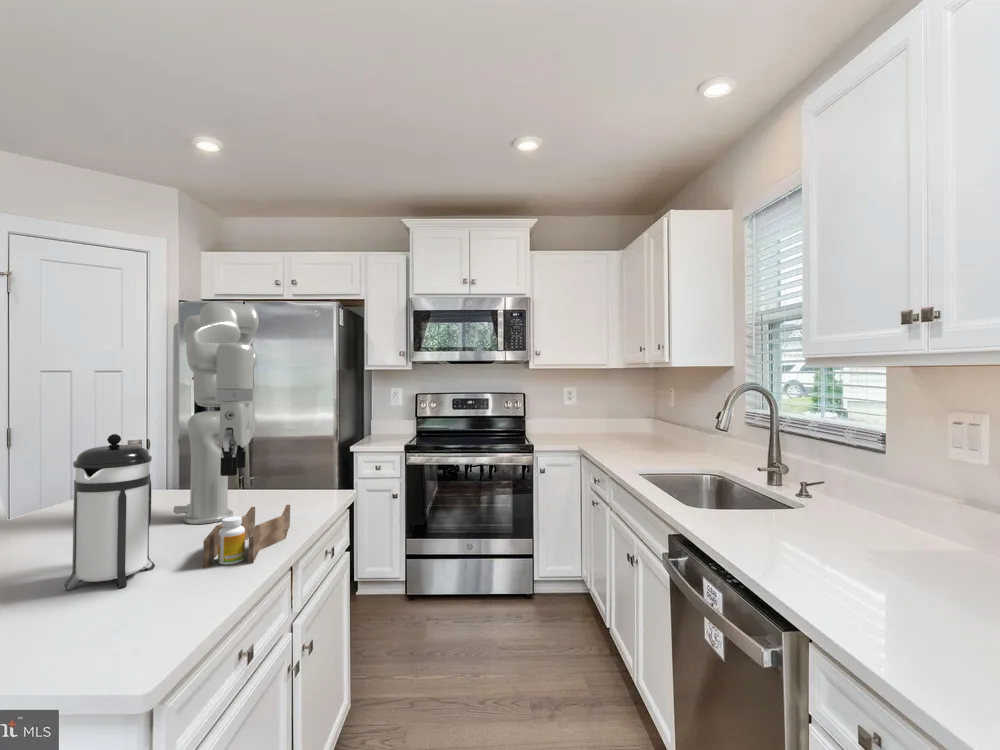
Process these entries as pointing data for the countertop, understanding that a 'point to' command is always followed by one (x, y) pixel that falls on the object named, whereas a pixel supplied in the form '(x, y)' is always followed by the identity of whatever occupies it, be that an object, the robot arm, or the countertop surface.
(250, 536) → the channel
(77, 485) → the coffee press
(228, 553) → the supplement bottle
